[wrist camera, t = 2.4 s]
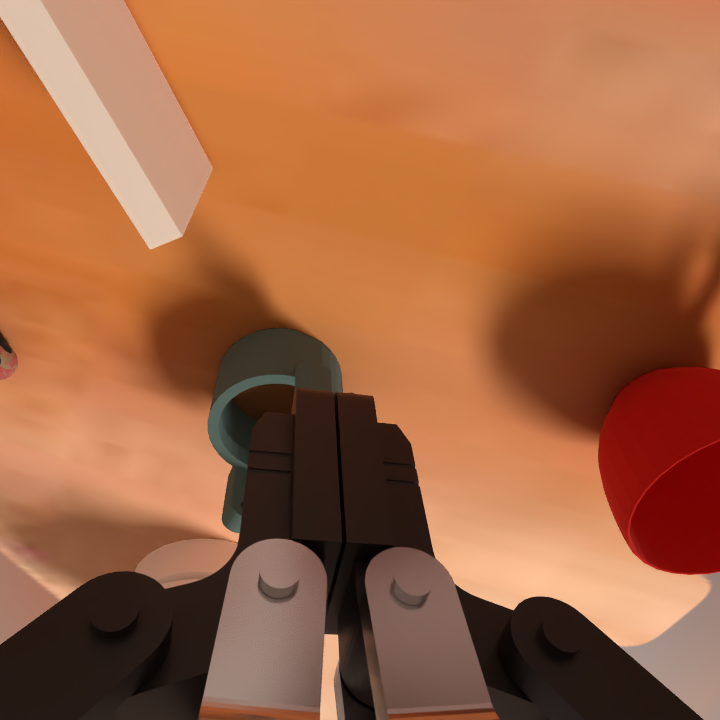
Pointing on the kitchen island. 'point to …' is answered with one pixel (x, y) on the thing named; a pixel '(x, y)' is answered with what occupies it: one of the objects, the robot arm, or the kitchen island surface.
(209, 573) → the honey pot
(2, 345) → the screwdriver
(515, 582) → the kitchen island surface
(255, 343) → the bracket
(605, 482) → the ceramic cup
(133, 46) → the cream flat slab
